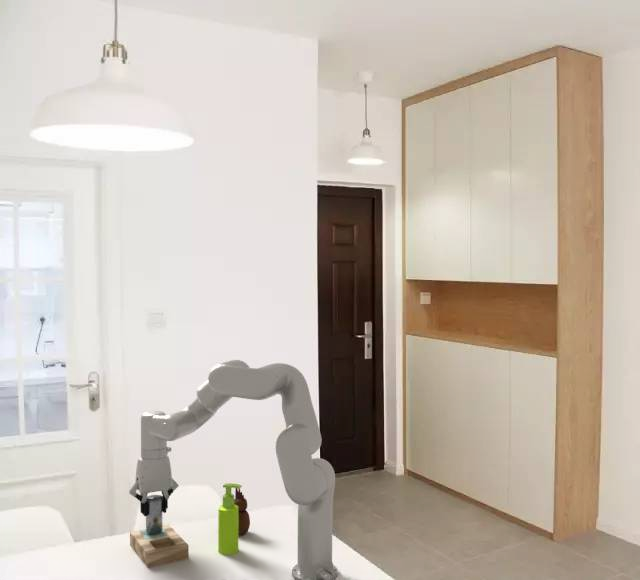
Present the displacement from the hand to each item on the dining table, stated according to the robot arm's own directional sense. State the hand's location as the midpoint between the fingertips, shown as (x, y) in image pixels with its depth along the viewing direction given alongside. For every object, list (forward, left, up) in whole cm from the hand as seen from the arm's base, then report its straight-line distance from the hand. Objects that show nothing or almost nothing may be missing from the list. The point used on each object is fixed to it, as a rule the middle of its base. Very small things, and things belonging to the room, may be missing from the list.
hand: (154, 512), depth 207 cm
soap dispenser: (-14, -18, -11) cm, 26 cm away
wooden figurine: (-3, -26, -11) cm, 29 cm away
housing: (-4, 0, -10) cm, 11 cm away
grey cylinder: (0, 0, -5) cm, 5 cm away
